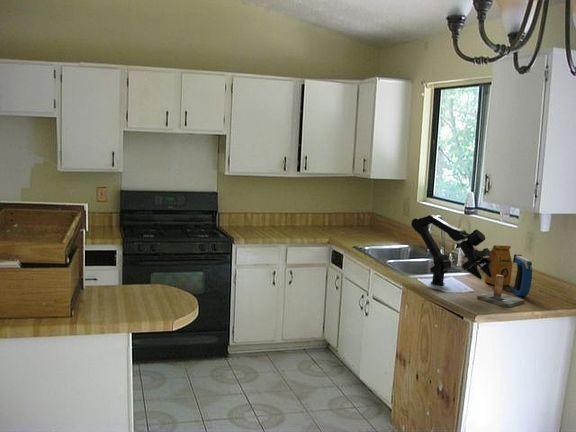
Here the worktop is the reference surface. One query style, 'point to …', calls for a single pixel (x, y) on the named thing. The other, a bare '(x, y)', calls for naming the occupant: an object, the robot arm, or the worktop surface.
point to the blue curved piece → (522, 276)
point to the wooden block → (498, 287)
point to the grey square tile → (505, 299)
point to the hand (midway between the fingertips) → (486, 277)
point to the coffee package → (500, 264)
